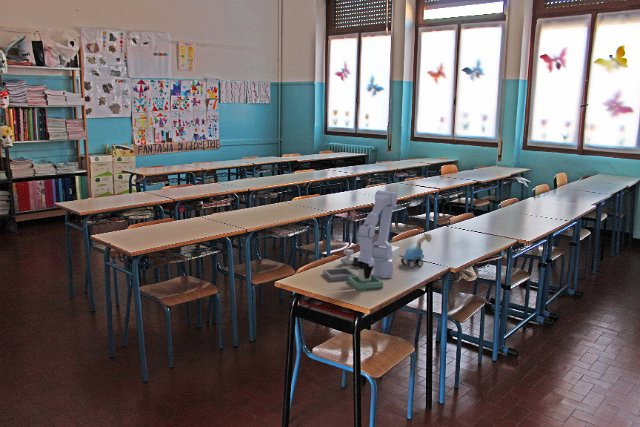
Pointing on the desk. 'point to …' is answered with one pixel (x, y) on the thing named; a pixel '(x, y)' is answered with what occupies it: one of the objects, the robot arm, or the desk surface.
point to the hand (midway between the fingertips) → (365, 277)
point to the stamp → (348, 257)
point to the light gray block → (361, 275)
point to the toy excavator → (415, 253)
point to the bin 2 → (365, 283)
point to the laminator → (394, 255)
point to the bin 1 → (338, 274)
